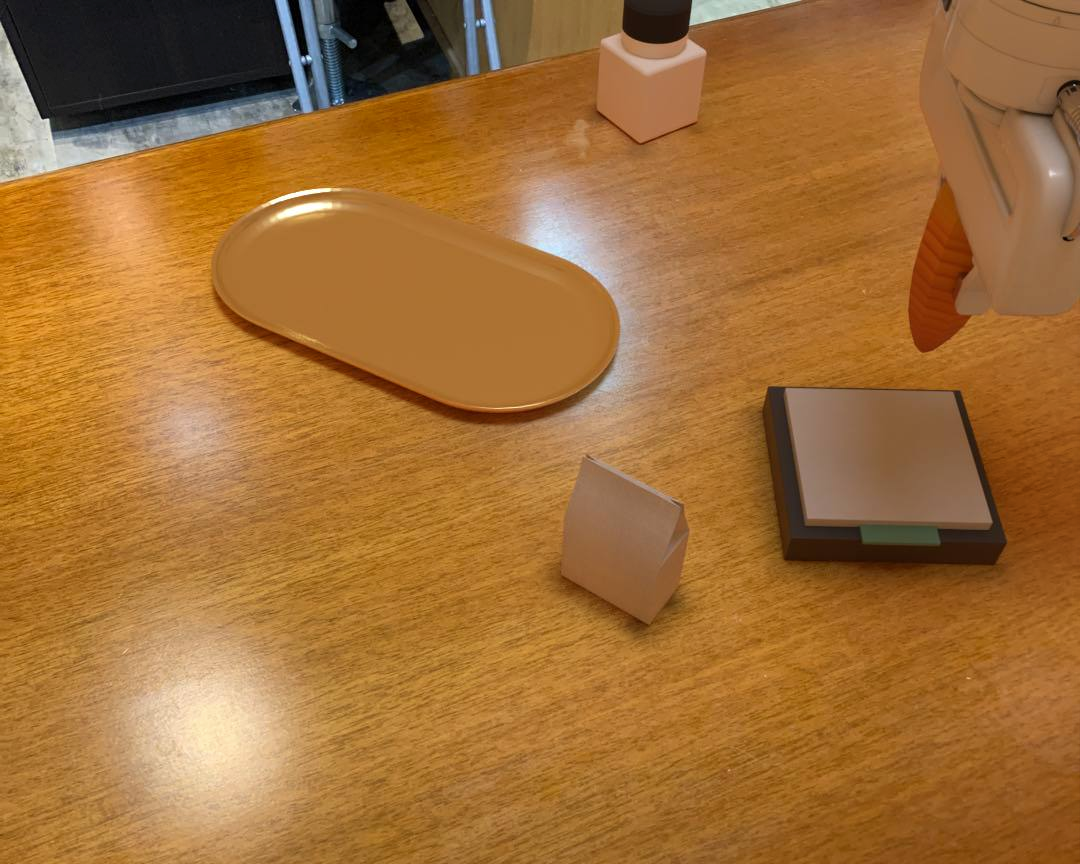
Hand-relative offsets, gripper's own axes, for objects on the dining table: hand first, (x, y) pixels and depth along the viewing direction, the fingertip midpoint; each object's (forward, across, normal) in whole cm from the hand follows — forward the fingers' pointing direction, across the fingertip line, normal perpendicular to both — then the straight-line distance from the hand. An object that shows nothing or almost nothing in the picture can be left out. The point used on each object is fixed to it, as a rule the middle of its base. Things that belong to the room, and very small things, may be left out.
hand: (955, 270), depth 62 cm
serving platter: (+19, +18, +34) cm, 43 cm away
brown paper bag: (+19, -9, +18) cm, 28 cm away
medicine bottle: (+19, +46, +14) cm, 51 cm away
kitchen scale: (+18, 0, 0) cm, 18 cm away
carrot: (+6, 0, 0) cm, 6 cm away
